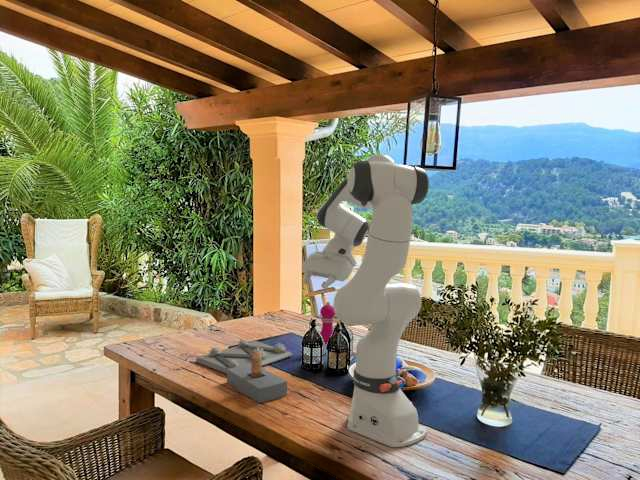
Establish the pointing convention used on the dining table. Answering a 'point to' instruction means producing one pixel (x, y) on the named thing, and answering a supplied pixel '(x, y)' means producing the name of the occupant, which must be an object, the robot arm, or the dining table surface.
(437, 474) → the dining table surface
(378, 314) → the robot arm
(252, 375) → the peg
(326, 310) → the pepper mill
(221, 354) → the grey crossed stick tray
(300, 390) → the dining table surface
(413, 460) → the dining table surface
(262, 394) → the socket block
